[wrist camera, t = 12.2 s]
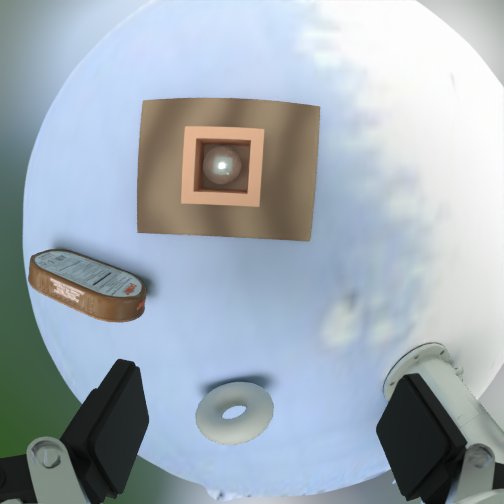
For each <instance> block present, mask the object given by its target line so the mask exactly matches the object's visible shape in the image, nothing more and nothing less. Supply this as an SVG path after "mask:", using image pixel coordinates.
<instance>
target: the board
mask: <svg viewBox="0 0 504 504" xmlns="http://www.w3.org/2000/svg"><path fill="white" fill-rule="evenodd" d="M319 120H320V107H319V106H312V105H305V104H297V103H289V102H279V101H268V100H254V99H235V98H177V99H158V100H145V101H143V105H142V114H141V125H140V138H139V154H138V179H137V230H138V233H155V234H179V235H201V236H221V237H241V238H260V239H278V240H295V241H310V237H311V228H312V218H313V207H314V196H315V184H316V171H317V157H318V140H319ZM185 126H209V127H240V128H257V129H264V143H263V159H262V174H261V189H260V204H259V207H251V206H232V205H210V204H181V190H182V166H183V148H184V133H185ZM216 147H229V148H231V149H233V150H234V151H235V152H236V153H237V154H238V155H239V157H240V160H241V164H242V168H241V172H240V174H239V176H238V177H237V178H236V179H235V180H233V181H231V182H229V183H227V184H217V183H214V182H212V181H211V180H209V179H208V178H207V176H206V175H205V173H204V170H203V183H202V188H206V189H231V190H247V183H248V167H249V151H250V146H241V145H216V144H205V146H204V158H205V156H206V155H207V153H208V152H209V151H211V150H212V149H214V148H216Z"/></svg>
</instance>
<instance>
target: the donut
mask: <svg viewBox="0 0 504 504" xmlns="http://www.w3.org/2000/svg"><path fill="white" fill-rule="evenodd" d="M239 405H241V406H245V407H246V410H245V412H244V413H243V414H241V415H240V416H238V417H236V418H233V419H224V418H222V415H223V413H224V412H225V411H226V410H227V409H229V408H231V407H233V406H239ZM273 411H274V404H273V401H272V399H271V396H270V395H269V393H268V392H267V391H265V390H264V389H263V388H262V387H260V386H258V385H256V384H254V383H249V382H231V383H228V384H224V385H221V386H219V387H217V388H215V389H213V390H212V391H211V392H209V393H208V394H207V395H206V396H205V397H204V398H203V399H202V401H201V402H200V403H199V405H198V408H197V410H196V424H197V426H198V428H199V430H200V432H201V433H202V434H203V435H204V436H205V437H206V438H208V439H209V440H211V441H213V442H216V443H219V444H223V445H237V444H241V443H245V442H248V441H250V440H252V439H254V438H255V437H257V436H259V435H260V434H261V433H262V432H263V431H264V430H265V429H266V428H267V427H268V425H269V423H270V421H271V419H272V417H273Z"/></svg>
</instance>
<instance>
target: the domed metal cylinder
mask: <svg viewBox="0 0 504 504" xmlns="http://www.w3.org/2000/svg"><path fill="white" fill-rule="evenodd" d="M241 168H242V164H241V160H240V157H239V155H238V154H237V153H236V152H235V151H234V150H233V149H231V148H229V147H216V148H214V149H212V150H211V151H209V152H208V153H207V155H206V156H205V158H204V161H203V170H204V173H205V175H206V176H207V178H208V179H209V180H211V181H212V182H214V183H217V184H227V183H229V182H231V181H233V180H235V179H236V178H237V177H238V176H239V174H240V172H241Z"/></svg>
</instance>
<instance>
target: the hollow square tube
mask: <svg viewBox="0 0 504 504" xmlns="http://www.w3.org/2000/svg"><path fill="white" fill-rule="evenodd" d="M263 143H264V129H257V128H240V127H209V126H185V133H184V148H183V166H182V190H181V204H210V205H232V206H251V207H259V204H260V189H261V174H262V159H263ZM205 144H216V145H241V146H250V151H249V167H248V183H247V190H231V189H206V188H202V183H203V161H204V146H205Z"/></svg>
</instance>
